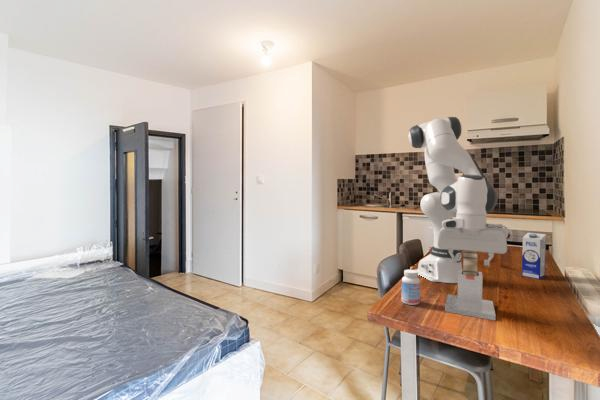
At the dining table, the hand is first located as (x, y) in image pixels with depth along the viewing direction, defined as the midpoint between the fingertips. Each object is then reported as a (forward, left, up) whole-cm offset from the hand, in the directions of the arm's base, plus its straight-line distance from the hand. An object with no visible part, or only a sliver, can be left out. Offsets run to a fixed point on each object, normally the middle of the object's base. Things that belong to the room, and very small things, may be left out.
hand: (470, 263), depth 101 cm
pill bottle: (-12, -14, -15) cm, 24 cm away
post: (0, 0, -13) cm, 13 cm away
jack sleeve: (0, 0, -15) cm, 15 cm away
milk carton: (-13, +62, -15) cm, 65 cm away
